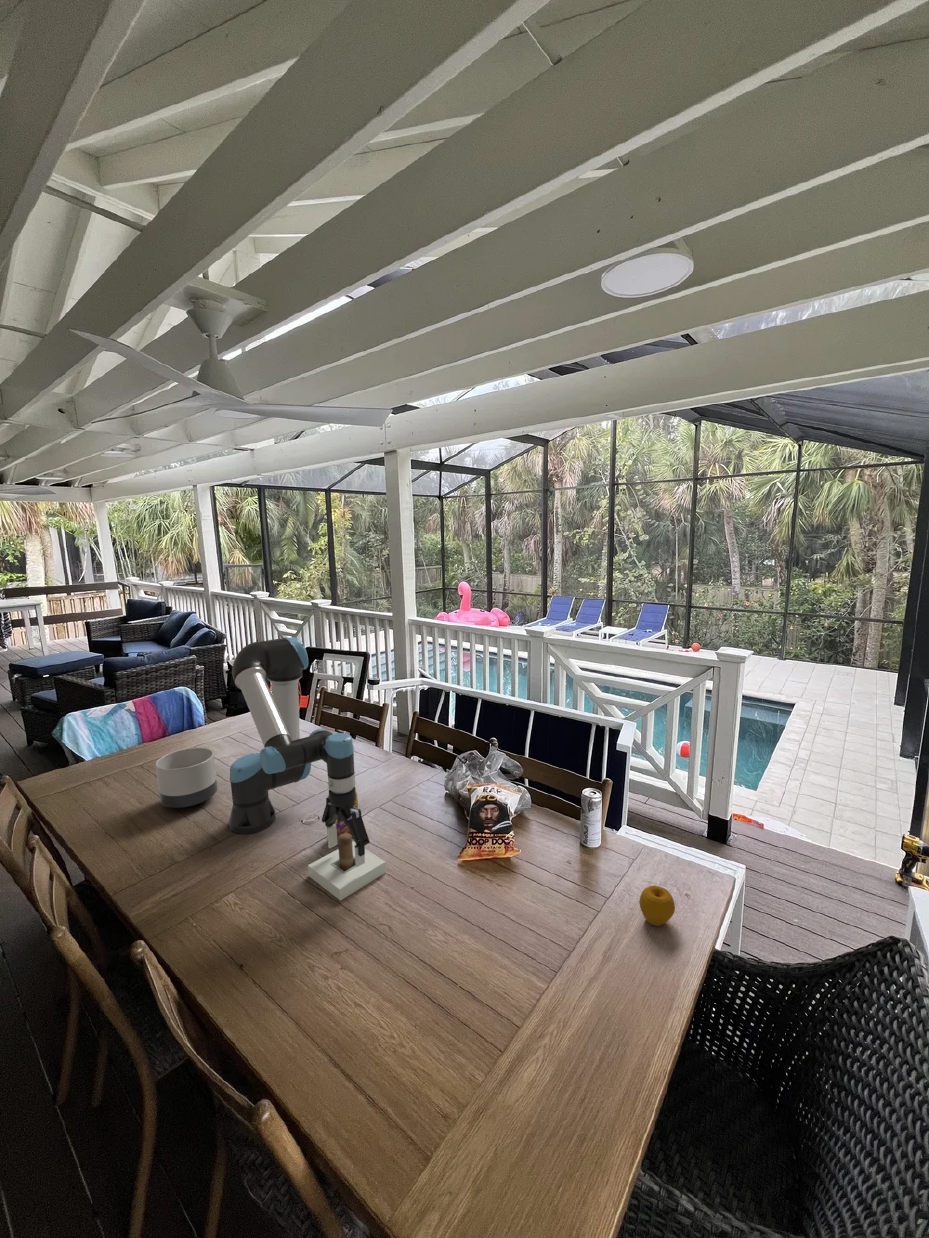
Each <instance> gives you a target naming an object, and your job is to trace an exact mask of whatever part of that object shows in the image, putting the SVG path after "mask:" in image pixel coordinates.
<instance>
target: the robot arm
mask: <svg viewBox="0 0 929 1238" xmlns="http://www.w3.org/2000/svg"><path fill="white" fill-rule="evenodd" d="M308 667H309V656H308V653H307V648H306V647H305V645H304V643H303V641H302V640H301V639H300V638H298V637H296V636H295V637H293V636H291V637H281V638H275V639H269V640H262V641H253V642H250V643H248V644H246V645H245V646H244V647H242V648H241V649H240V651H239V652H238V653H237V655H236V656H235V658H234V660H233V663H232V669H231V675H232V679H233V681H234V684H235V686H236V687H237V688H238V689H240V690H241V693H242V695H243V697H244V700H245V703H246V705H247V708H248V709H249V712H250V715H251V718H252V721H253V722H254V725H255V727H256V730H257V732H258V735H259V738H260V741H261V743H262V744H263V748H261V750H260V751H259V752H256V753H248V754H245V755H243V756H241V757H238V758H237V759H236V760H235V761H234V762H232V764H231V765H230V768H229V781H230V790H231V791H230V792H231V799H232V800H231V801H232V809H231V810H230V811H231V812H230V816H229V819H228V824H229V829H230V831H231V832H233V833H236V834H239V835H240V834H241V835H248V834H253V833H258V832H260V831H264V830H266V829H267V828H269V827H270V826H272V825H273V823H275V821H276V817H277V816H276V815H277V814H276V809H275V807H274V805H273V803H272V801H271V800H270V797H269V791H270V790H275V789H278V788H281V787H283V786H287V785H290V784H292V783H293V784H294V783H298V782H300V781H303V780H305V779H306V778H307V777H309V776H310V772H311V769H312V763H314V762H319V761H323V762H324V763H325V764H326V770H327V779H328V781H327V786H328V796H329V797H328V796H327V797H326V798H325V807H324V810H323V813H322V816H321V823H324V825H325V827H326V832H327V844H328V845H327V846H328V848H329V849H332V848H333V847H336V846H338V842H337V829H336V824H334V823H336V820H337V818H338V817H339V818H341V819H342V820H344V823H345V824H346V825H348V827H349V830H350V832H351V834H352V836H353V837H352V839H353V841H354V842H355V843H356V845H354V847H355V864H356V867H359V866H360V865H362V864H364V863H365V855H364V854H365V849H366V848H365V847H366V846H367V845H368V844H370V843H371V842H370V839H369V836H368V832H367V830H366V827H365V823H364V821H363V816H362V811H361V808H358V810H355V809H354V807H353V803H354V801H355V799H356V792H357V791H356V774H355V773H356V771H355V754H354V751H355V749H354V742H353V737H352V736H351V735H350V734H348V733H344V732H336V733H333V732H332V731H329V730H327V729H325V728H317V729H315V730H313V731H312V732H311V733H310V734H309V735H308V736H306V737H301V736H300V730H301V729H300V707H299V706H300V705H299V704H300V699H299V681H300V679H301V678H303V670H304V671H305V670H306V669H307V668H308ZM267 681H269V682H270V683H271V690H270V688H269V685H268V683H267ZM350 818H352V819H350ZM348 819H350V820H348ZM333 824H334V825H333Z"/></svg>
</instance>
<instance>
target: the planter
mask: <svg viewBox="0 0 929 1238" xmlns="http://www.w3.org/2000/svg"><path fill="white" fill-rule="evenodd" d="M155 771H156V779H157V785H158V786H157V787H158V796H159V802H160V804H161V805H162V806H164V807H166V808H173V809H175V808H177V809H178V808H179V809H183V808H184V809H185V808H190V807H191V808H192V807H195V806H196V805H200V804H201V803H203V802H206V801H207V800H209V799H210V798H211V797H213V796H214V795H215V794H216V793H217V791H218V780H217V772H216V761H215V754H214V751H213V750H212V749H210V748H208V747H189V748H184V749H178V750H175V751H172V752H169V753H167V754H165V755H163V756H161V757H160V758H159V759H157V760H156V762H155Z"/></svg>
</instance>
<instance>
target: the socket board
mask: <svg viewBox="0 0 929 1238" xmlns="http://www.w3.org/2000/svg"><path fill="white" fill-rule="evenodd" d="M354 845H356V843H355V841H354V840H352V846H353V863H354V866H353V867H352V868H350V869H348V870H346V871H345V872H344V871H343V870H341V869H340V863H339V848H337V849H336V850H334V851H332V852H330V853H328V854H326V855H325V856H323V857H321V858H319V859H316V860H315V861H313V862H311V863H309V864H308V865H307V868H308V878H309V877H310V878H311V879H312V880H313V881H315V883H317V884H318V885H319V886H321V887H322V888H324V889H325V890H326V891H328V893H330V894H331V895H332V896H334V897H335V898H336V899H337V900H339V901H342V900H344V899H346V898H348V897H349V896H350V895H352V894H353V893H355V892H357V891H358V890H360V889H361V888H364V887H365V886H367V885H368V884H370V883H372V882H373V881H375V880H376V879H378V878H379V877H381V876H382V875H384V874H386V873H387V871H386V870H387V869H386V867H387V866H386V861H385V860H383V859H381V858H380V857H379V856H377V855H375V854H374V853H372V852H370V851H369V850H368V849H366V848H365V854H364V855H365V863H364V864H362V865H360V866H359V867H356V864H355V847H354Z"/></svg>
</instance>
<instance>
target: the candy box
mask: <svg viewBox="0 0 929 1238" xmlns="http://www.w3.org/2000/svg"><path fill="white" fill-rule="evenodd" d="M327 797H329V795H327ZM358 800H359V799H358V792H357V791H356V799H355V801H354V803H353V807H354V809H355V810H358V809H359V801H358ZM350 819H352V818H350ZM350 819H348V820H350ZM334 824H336V829H337V843H338V837H339V836H340V835H341V834H344V833H349V834H351V832H350V830H349V827H348V825H346V824H345V823H344V820H342V819H341V818H339V817H338V818H337V820H336V823H334ZM334 824H333V825H334ZM351 835H352V834H351ZM352 838H353V836H352Z"/></svg>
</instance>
